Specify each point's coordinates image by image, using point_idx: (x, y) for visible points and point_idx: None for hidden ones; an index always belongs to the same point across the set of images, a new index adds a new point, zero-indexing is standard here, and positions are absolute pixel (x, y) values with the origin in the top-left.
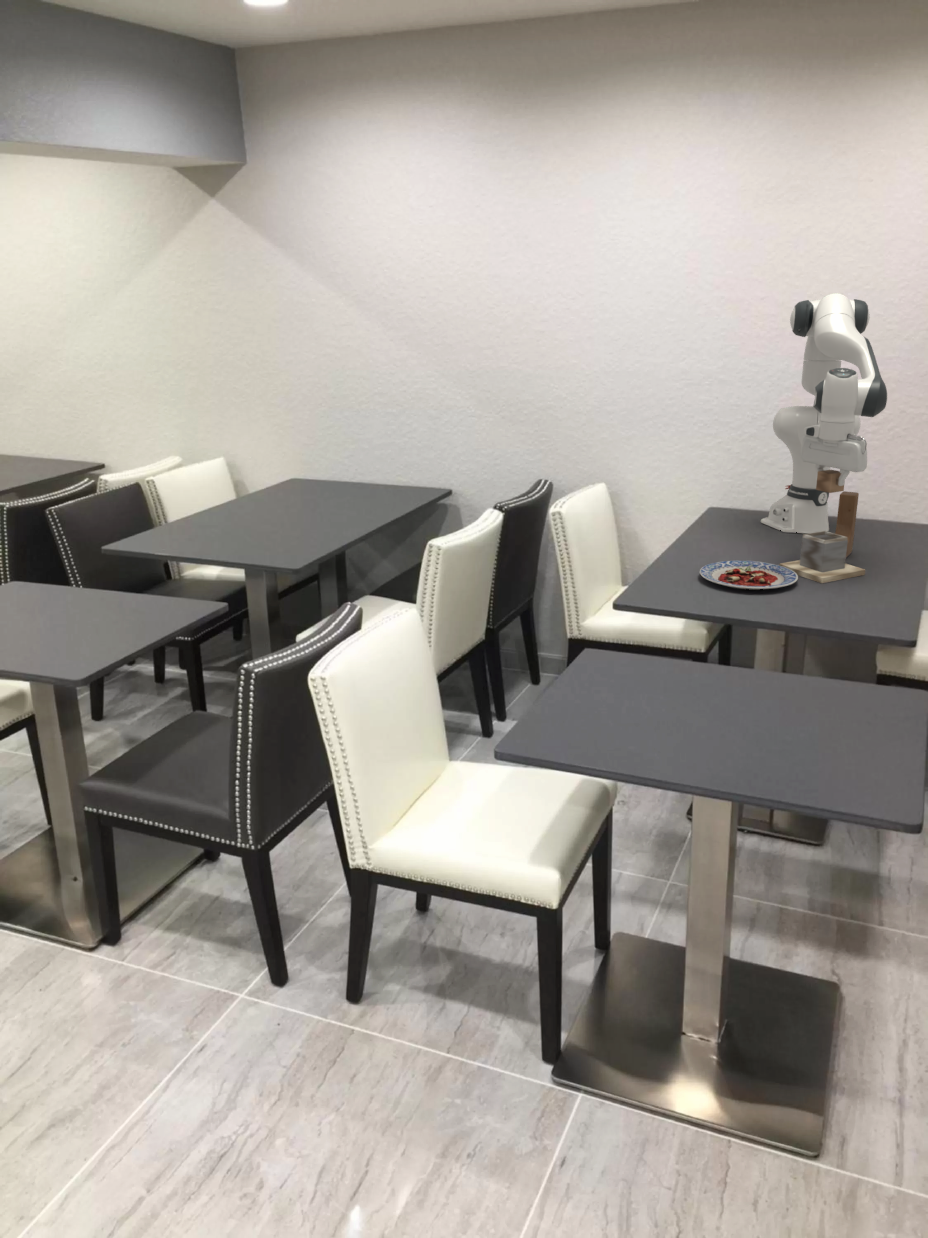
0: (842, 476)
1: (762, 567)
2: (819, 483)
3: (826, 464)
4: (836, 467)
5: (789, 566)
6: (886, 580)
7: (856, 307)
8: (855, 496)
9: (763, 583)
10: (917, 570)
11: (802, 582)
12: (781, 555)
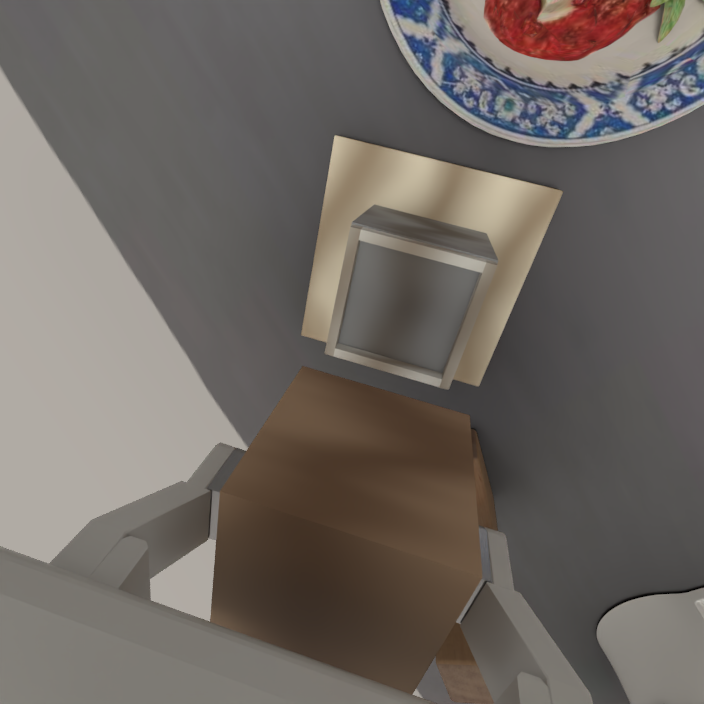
0: (137, 503)
1: (610, 88)
2: (431, 445)
3: (335, 695)
4: (130, 602)
5: (509, 185)
6: (239, 318)
7: None
8: (436, 659)
9: None
10: (249, 444)
11: (395, 86)
12: (625, 358)
